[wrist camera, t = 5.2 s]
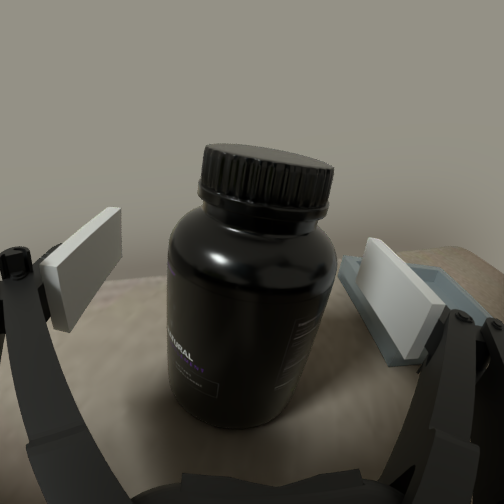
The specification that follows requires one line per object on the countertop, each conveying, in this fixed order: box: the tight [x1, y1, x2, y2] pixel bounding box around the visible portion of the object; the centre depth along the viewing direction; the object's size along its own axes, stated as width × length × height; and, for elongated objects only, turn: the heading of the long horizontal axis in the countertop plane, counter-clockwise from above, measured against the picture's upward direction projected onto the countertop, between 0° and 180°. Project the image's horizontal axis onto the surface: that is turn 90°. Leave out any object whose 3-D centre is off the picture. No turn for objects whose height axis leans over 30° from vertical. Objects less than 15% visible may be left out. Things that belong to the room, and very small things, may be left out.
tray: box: [338, 255, 493, 367], centre depth 24 cm, size 13×13×2 cm
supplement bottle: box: [167, 144, 337, 429], centre depth 13 cm, size 7×7×12 cm
